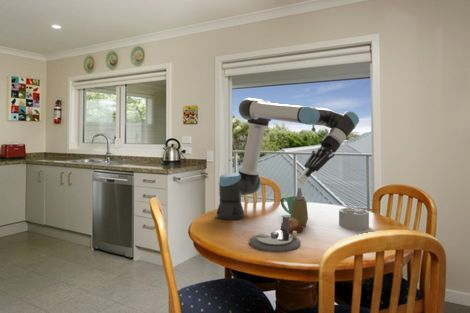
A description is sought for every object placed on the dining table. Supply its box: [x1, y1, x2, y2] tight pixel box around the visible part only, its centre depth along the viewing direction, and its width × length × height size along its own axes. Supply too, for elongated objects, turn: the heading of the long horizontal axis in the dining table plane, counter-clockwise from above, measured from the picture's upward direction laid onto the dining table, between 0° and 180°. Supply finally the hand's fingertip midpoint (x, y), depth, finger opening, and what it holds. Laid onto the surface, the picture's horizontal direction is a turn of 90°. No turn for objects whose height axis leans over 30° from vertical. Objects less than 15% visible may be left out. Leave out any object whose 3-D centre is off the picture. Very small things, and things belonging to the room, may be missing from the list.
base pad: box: [249, 231, 301, 253], centre depth 122 cm, size 20×20×4 cm
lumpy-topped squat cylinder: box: [338, 206, 370, 231], centre depth 145 cm, size 10×13×9 cm
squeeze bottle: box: [290, 187, 309, 227], centre depth 147 cm, size 8×8×18 cm
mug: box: [280, 196, 306, 216], centre depth 167 cm, size 15×10×10 cm
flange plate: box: [256, 215, 293, 246], centre depth 122 cm, size 14×16×10 cm
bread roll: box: [279, 216, 304, 235], centre depth 138 cm, size 10×10×8 cm
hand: (300, 181), depth 127 cm, fingers closed
